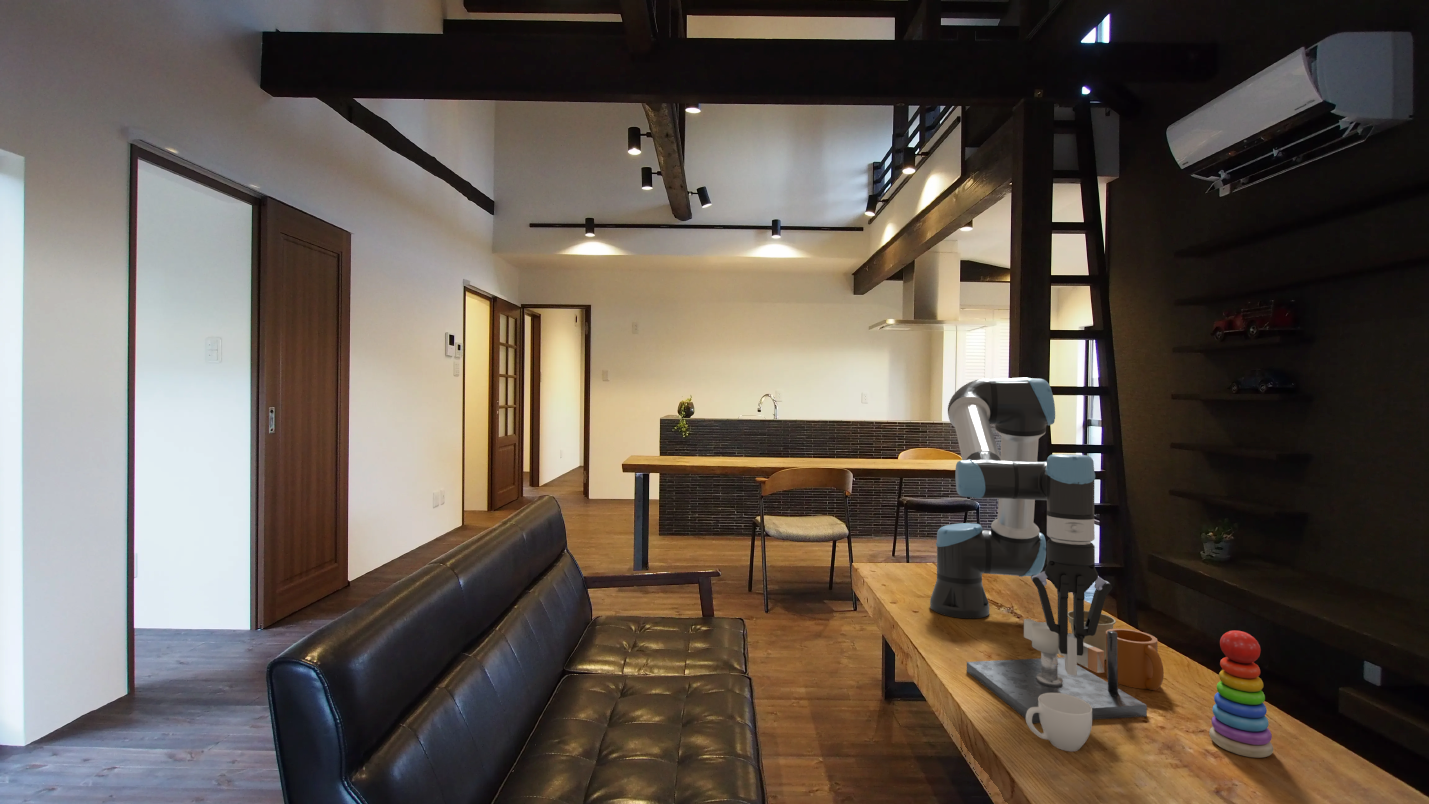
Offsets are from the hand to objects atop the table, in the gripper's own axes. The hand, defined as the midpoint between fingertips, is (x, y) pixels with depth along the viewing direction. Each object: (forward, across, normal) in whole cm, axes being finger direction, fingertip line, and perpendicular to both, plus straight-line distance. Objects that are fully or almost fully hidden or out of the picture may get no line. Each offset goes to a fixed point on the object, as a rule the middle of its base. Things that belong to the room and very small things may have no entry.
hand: (1070, 671), depth 113 cm
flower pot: (+8, +10, +32) cm, 35 cm away
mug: (+8, +15, +19) cm, 26 cm away
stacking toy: (+8, +24, -3) cm, 25 cm away
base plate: (+8, -2, +9) cm, 12 cm away
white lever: (-1, 0, +6) cm, 6 cm away
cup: (+8, -4, -12) cm, 15 cm away
